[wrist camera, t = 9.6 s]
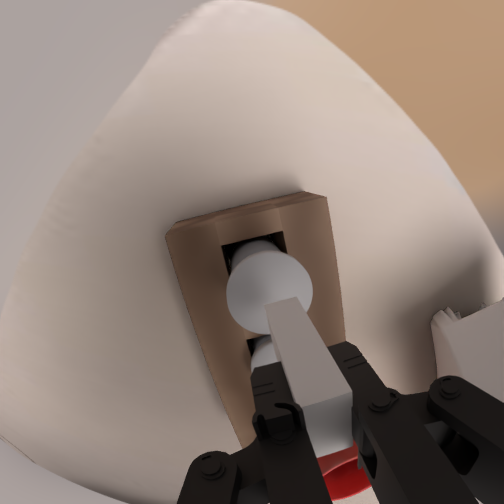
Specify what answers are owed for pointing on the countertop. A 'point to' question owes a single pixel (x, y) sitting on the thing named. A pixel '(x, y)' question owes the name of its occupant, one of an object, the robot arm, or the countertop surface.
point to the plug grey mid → (262, 351)
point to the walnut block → (218, 272)
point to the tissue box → (472, 346)
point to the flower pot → (343, 473)
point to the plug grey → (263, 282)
